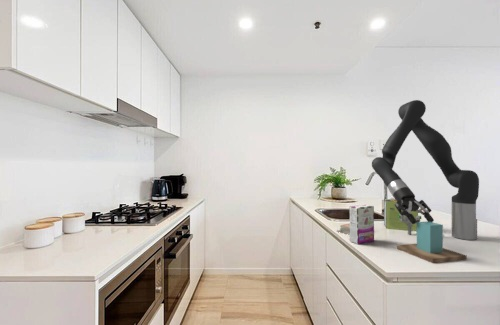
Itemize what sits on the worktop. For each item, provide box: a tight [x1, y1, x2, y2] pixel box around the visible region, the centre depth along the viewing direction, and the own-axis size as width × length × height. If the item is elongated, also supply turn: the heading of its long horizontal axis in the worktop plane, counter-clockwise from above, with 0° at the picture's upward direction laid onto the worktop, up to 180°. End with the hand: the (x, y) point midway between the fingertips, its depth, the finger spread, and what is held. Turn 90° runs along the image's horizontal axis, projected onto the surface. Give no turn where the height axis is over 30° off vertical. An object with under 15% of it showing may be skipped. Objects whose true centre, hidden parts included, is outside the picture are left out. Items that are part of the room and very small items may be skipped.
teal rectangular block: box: [416, 221, 444, 253], centre depth 101 cm, size 6×6×11 cm
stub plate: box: [396, 243, 468, 264], centre depth 101 cm, size 16×16×4 cm
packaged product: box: [336, 222, 350, 236], centre depth 134 cm, size 18×5×10 cm
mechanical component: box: [398, 214, 422, 236], centre depth 129 cm, size 3×10×10 cm, turn 79°
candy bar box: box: [349, 204, 375, 245], centre depth 117 cm, size 11×5×16 cm, turn 117°
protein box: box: [383, 198, 419, 232], centre depth 143 cm, size 10×15×16 cm
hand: (423, 222), depth 104 cm, fingers open, 8 cm apart
